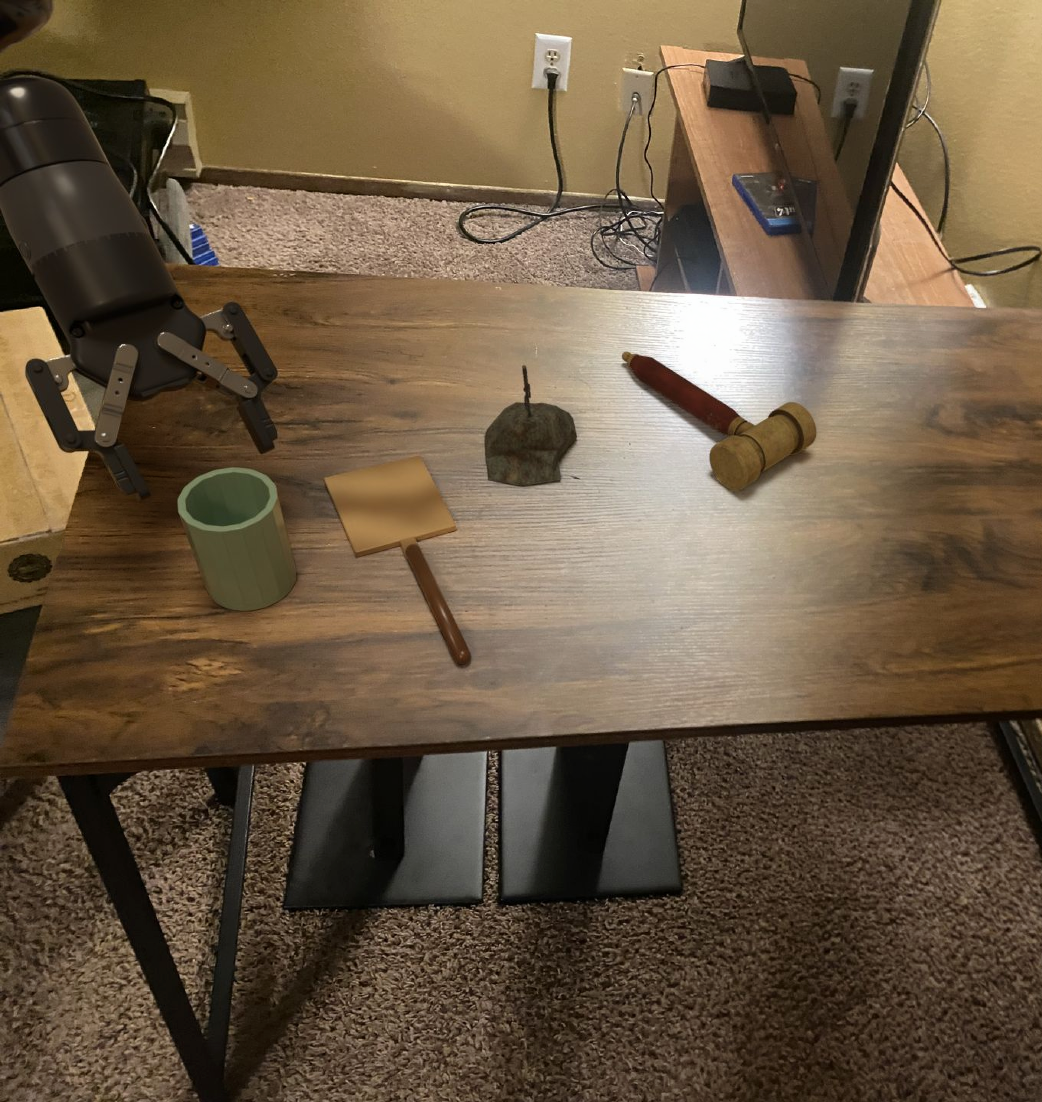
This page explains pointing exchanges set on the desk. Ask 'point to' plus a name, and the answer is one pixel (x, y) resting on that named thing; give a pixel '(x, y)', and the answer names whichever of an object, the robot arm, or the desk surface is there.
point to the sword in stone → (528, 441)
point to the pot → (238, 537)
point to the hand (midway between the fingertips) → (208, 474)
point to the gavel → (731, 425)
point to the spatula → (398, 525)
